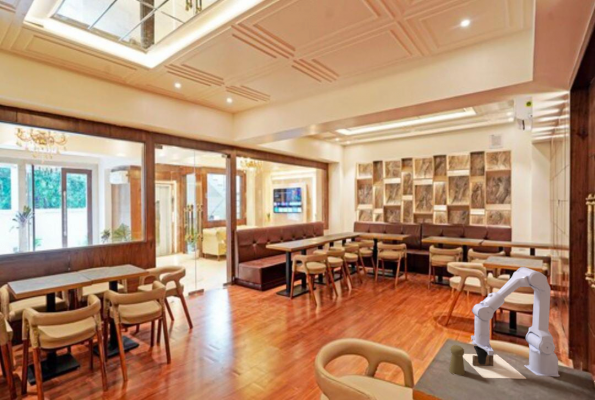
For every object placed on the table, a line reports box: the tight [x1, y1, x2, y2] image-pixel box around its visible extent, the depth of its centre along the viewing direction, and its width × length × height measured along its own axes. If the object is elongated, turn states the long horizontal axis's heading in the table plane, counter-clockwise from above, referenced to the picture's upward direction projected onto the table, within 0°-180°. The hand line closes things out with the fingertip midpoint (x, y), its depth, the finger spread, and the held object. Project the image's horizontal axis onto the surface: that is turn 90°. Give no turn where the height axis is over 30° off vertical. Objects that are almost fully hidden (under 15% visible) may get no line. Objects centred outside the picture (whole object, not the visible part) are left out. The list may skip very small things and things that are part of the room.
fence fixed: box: [488, 355, 493, 366], centre depth 141 cm, size 2×9×4 cm, turn 179°
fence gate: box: [472, 355, 489, 366], centre depth 137 cm, size 1×7×4 cm, turn 93°
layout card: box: [463, 353, 527, 380], centre depth 137 cm, size 18×20×1 cm
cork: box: [448, 344, 466, 376], centre depth 132 cm, size 6×6×11 cm
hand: (481, 363), depth 136 cm, fingers closed
